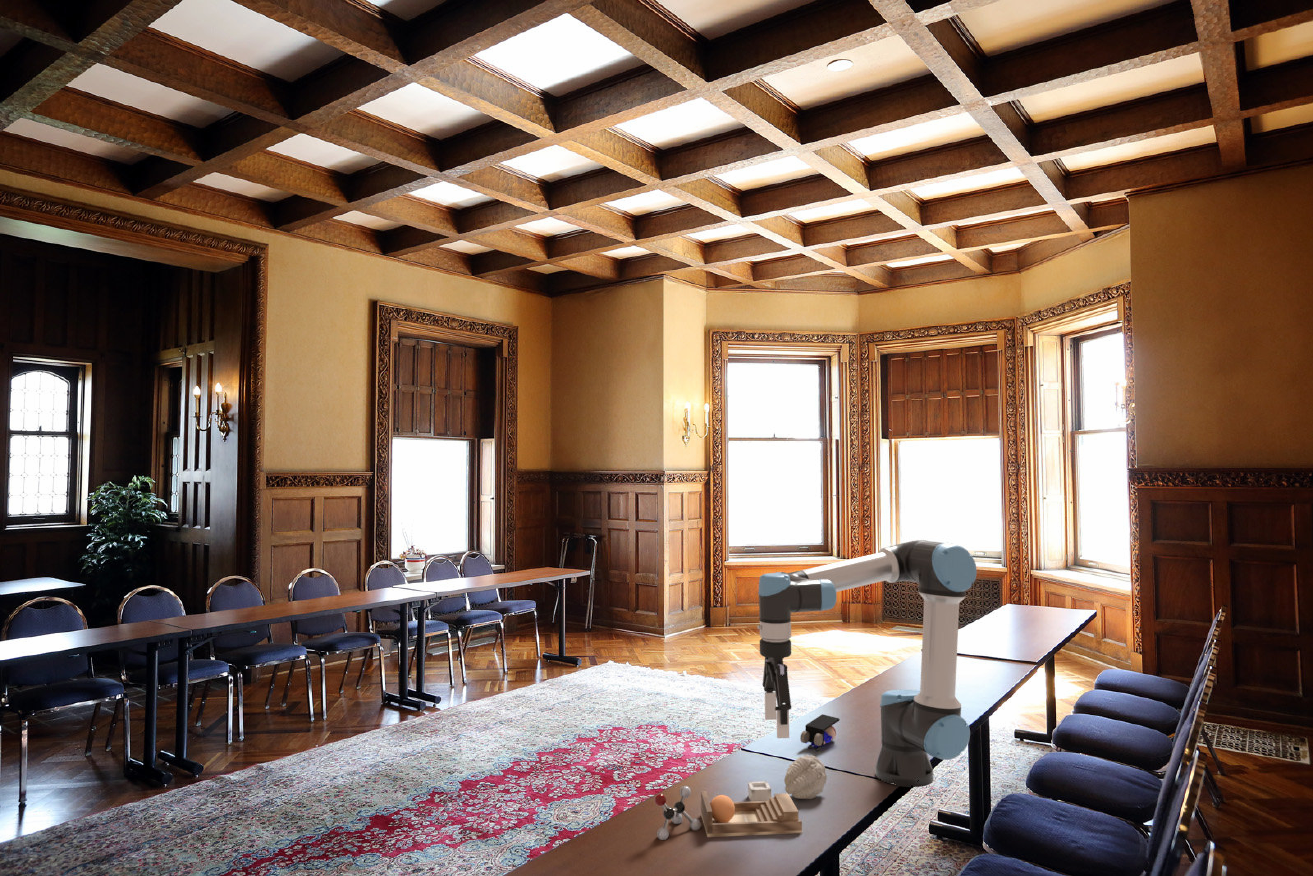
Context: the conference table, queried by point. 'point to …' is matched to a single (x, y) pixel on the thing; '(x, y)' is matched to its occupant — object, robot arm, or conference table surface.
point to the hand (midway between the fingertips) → (776, 728)
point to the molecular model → (676, 816)
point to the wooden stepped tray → (754, 817)
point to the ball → (722, 808)
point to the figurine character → (819, 731)
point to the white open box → (759, 791)
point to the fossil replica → (805, 777)
